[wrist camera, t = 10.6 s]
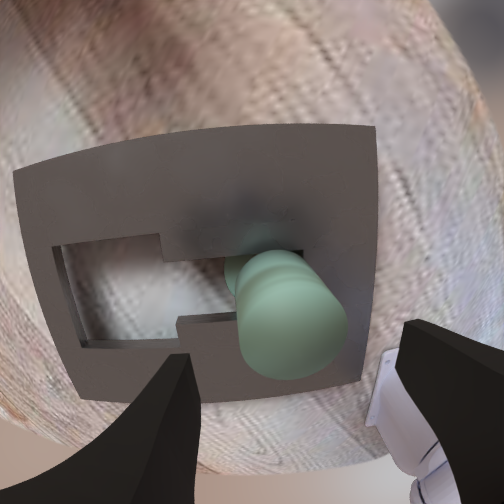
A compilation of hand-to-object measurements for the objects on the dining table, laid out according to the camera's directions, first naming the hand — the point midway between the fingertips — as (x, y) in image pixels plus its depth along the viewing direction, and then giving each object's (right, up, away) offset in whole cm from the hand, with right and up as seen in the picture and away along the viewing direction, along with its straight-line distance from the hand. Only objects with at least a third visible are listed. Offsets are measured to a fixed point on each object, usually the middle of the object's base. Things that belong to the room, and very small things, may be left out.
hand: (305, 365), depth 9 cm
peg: (-1, +3, +9) cm, 9 cm away
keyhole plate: (-5, +2, +9) cm, 10 cm away
